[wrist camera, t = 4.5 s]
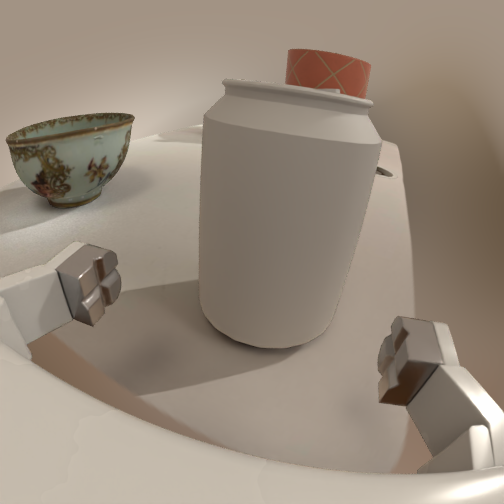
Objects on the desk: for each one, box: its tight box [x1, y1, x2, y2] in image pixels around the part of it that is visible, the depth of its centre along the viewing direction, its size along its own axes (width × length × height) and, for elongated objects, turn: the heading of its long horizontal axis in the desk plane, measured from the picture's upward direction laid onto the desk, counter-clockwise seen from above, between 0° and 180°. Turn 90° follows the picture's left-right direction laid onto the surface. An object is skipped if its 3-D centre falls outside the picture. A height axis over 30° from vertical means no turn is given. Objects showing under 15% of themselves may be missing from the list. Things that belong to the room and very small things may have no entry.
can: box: [199, 79, 382, 348], centre depth 14 cm, size 8×8×12 cm
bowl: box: [6, 113, 135, 208], centre depth 26 cm, size 14×13×8 cm
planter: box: [285, 49, 371, 99], centre depth 64 cm, size 19×19×20 cm
